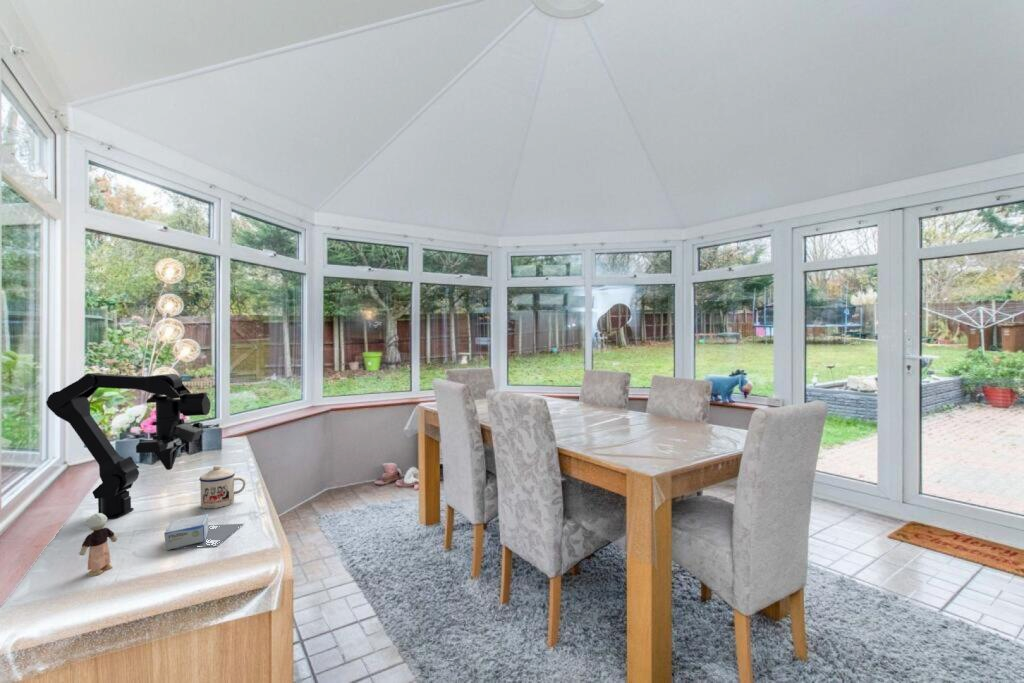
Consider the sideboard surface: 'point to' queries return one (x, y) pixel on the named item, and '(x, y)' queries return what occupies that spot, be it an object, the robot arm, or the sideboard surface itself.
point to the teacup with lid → (218, 487)
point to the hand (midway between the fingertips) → (169, 469)
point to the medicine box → (186, 532)
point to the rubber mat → (217, 534)
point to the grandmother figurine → (98, 545)
